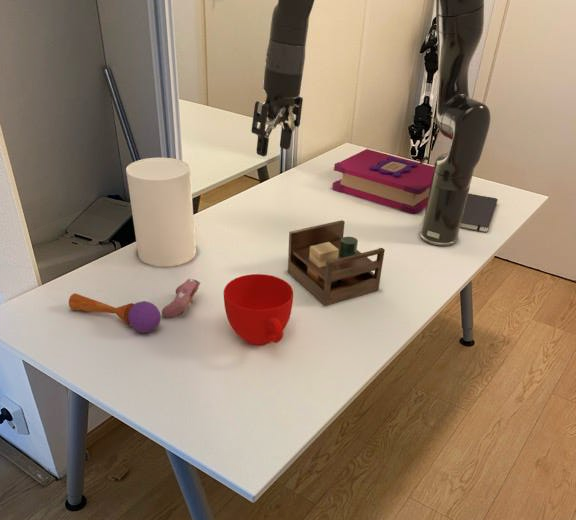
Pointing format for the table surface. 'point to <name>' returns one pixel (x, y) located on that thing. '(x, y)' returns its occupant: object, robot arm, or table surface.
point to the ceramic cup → (258, 307)
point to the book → (385, 180)
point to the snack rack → (332, 263)
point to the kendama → (122, 312)
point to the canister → (162, 210)
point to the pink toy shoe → (181, 298)
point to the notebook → (478, 212)
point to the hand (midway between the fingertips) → (273, 151)
